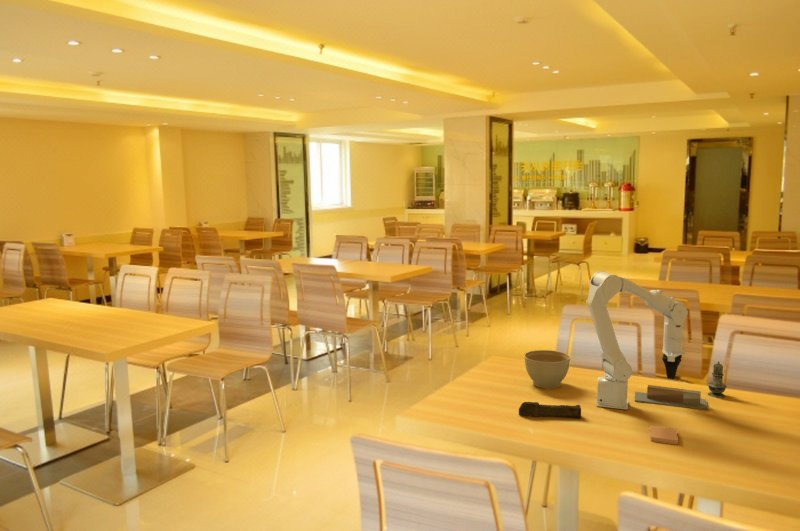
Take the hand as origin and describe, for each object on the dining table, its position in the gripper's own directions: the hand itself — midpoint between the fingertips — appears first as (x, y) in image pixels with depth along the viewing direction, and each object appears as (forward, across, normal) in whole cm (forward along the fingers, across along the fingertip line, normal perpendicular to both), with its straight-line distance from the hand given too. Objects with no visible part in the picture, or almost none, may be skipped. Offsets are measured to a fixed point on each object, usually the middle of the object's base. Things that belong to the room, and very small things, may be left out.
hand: (671, 377), depth 201 cm
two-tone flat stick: (+8, 0, -1) cm, 8 cm away
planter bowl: (+9, +1, +41) cm, 42 cm away
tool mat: (+8, +1, 0) cm, 9 cm away
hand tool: (+9, -30, +33) cm, 45 cm away
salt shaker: (+9, +14, -14) cm, 22 cm away
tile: (+8, -27, +1) cm, 28 cm away
